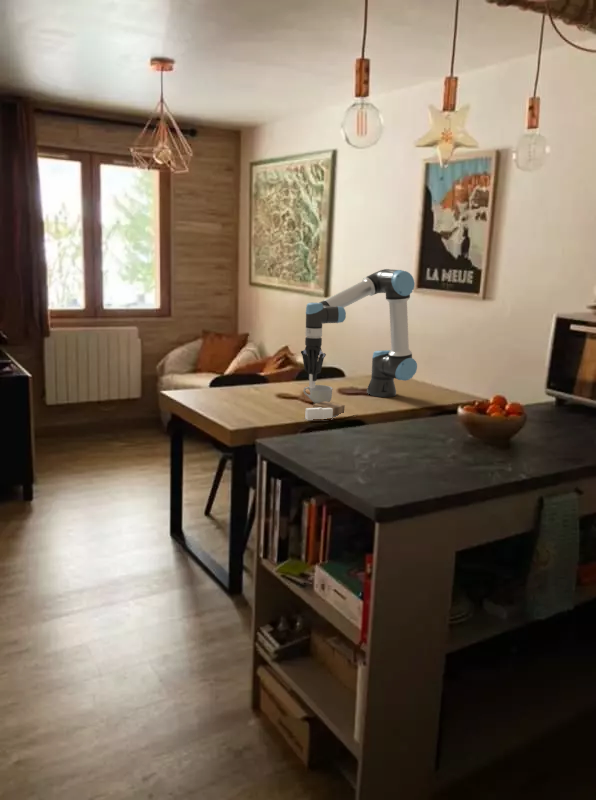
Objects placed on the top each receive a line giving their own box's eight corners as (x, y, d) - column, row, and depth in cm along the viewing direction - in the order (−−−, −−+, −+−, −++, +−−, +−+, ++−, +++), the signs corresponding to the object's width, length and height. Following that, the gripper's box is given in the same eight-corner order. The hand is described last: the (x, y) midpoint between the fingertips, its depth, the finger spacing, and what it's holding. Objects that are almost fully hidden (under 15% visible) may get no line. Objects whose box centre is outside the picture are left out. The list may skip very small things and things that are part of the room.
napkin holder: (299, 421, 292) (300, 408, 291) (306, 416, 302) (307, 403, 301) (333, 425, 288) (334, 412, 287) (339, 419, 298) (340, 407, 297)
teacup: (334, 402, 330) (335, 386, 328) (328, 406, 320) (329, 390, 318) (307, 399, 334) (308, 383, 332) (300, 403, 324) (300, 387, 322)
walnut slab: (325, 401, 313) (344, 405, 306) (324, 408, 314) (344, 412, 307) (313, 404, 306) (332, 408, 299) (312, 411, 307) (332, 416, 300)
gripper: (297, 336, 309) (296, 386, 315) (320, 339, 301) (318, 391, 307) (307, 334, 315) (306, 384, 320) (330, 337, 307) (328, 388, 312)
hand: (312, 387), depth 314 cm, fingers closed
